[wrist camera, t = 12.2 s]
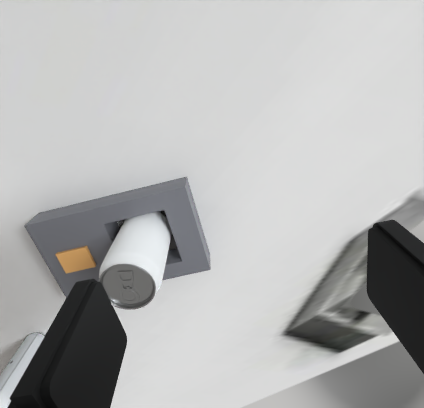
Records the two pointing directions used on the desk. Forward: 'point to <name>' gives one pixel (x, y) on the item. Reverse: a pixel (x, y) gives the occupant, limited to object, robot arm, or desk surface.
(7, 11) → the desk surface
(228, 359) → the desk surface
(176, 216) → the grey socket block
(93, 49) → the desk surface
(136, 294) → the can
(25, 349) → the photo printer
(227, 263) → the desk surface
